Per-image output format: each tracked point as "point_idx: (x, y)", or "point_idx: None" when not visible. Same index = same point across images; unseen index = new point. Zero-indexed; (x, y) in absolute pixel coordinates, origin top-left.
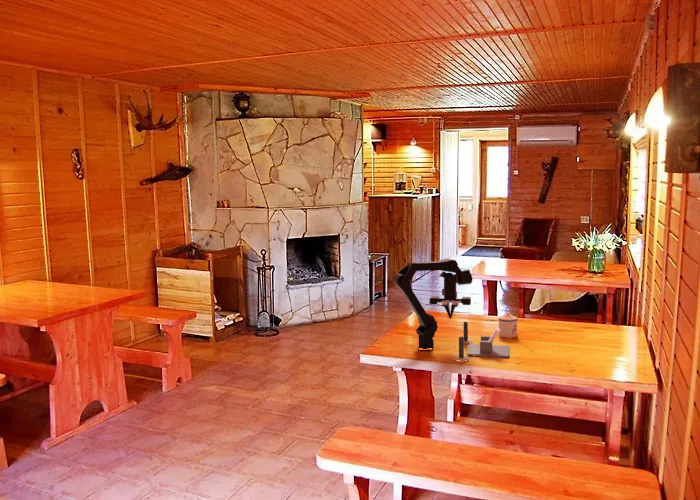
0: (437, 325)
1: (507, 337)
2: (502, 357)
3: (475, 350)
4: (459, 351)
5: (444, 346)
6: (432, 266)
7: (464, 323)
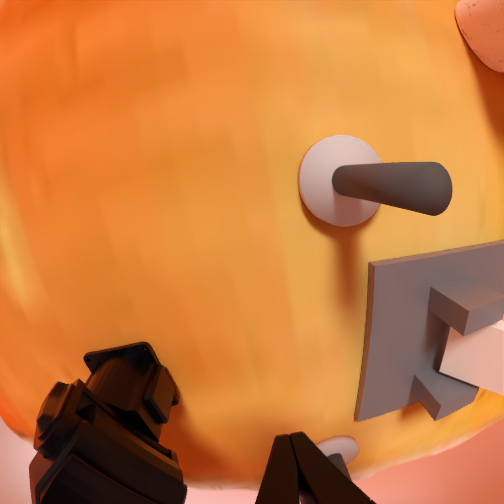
0: (184, 498)
1: (492, 69)
2: None
3: (398, 369)
4: None
5: (216, 312)
6: None
7: (418, 211)
